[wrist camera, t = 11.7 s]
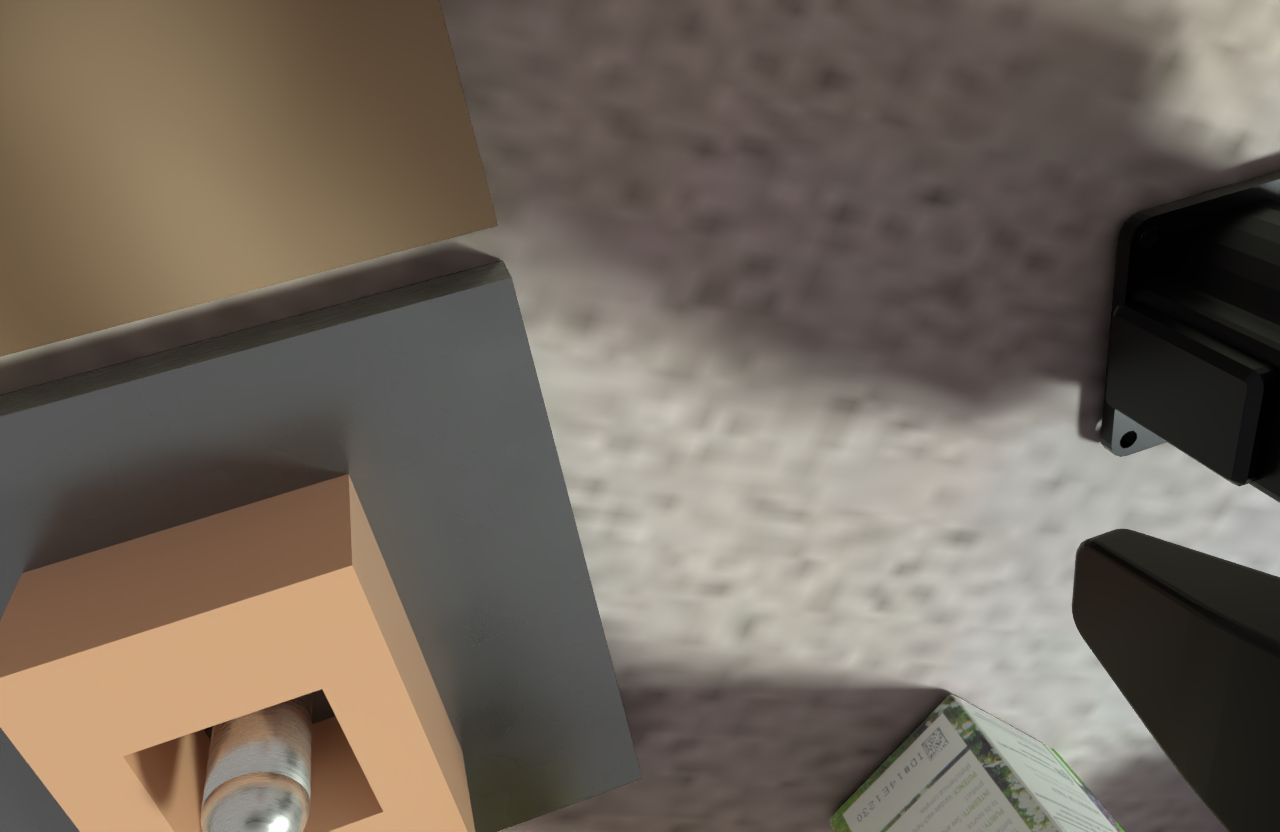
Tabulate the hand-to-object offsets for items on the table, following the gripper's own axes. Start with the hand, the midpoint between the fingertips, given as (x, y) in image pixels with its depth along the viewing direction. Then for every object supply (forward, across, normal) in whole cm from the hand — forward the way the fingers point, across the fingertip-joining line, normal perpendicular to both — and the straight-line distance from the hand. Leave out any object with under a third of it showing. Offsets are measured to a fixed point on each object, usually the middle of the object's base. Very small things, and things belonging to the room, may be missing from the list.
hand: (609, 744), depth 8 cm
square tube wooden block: (+11, +6, +7) cm, 14 cm away
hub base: (+12, +6, +7) cm, 15 cm away
